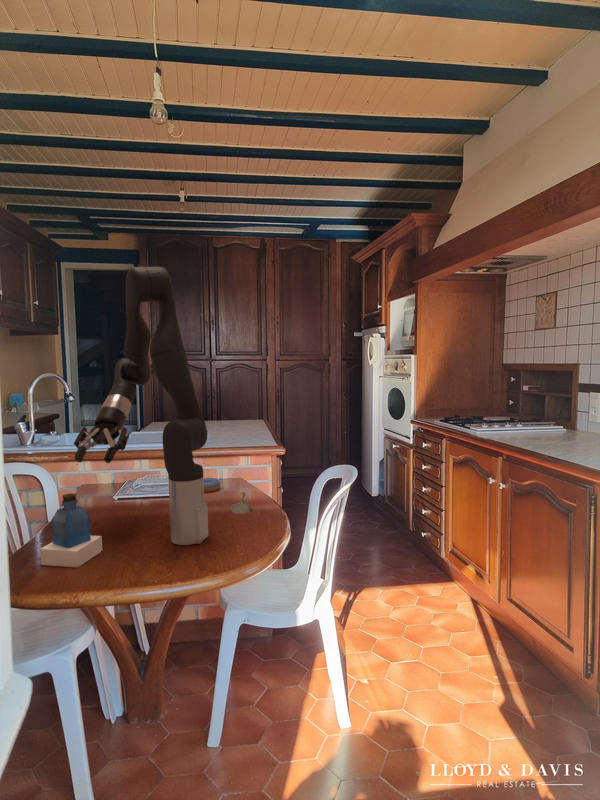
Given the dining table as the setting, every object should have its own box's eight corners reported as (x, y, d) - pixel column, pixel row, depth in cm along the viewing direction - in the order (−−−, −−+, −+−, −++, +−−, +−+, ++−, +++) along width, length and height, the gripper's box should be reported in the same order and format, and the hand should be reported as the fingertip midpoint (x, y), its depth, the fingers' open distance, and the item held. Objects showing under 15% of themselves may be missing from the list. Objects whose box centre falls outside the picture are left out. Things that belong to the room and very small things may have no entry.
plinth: (102, 551, 127) (101, 536, 126) (77, 567, 117) (76, 551, 116) (68, 548, 129) (67, 534, 128) (41, 564, 119) (40, 548, 118)
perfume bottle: (90, 540, 124) (88, 493, 123) (68, 548, 118) (65, 500, 117) (75, 535, 127) (73, 490, 126) (53, 543, 122) (50, 496, 121)
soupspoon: (229, 518, 154) (250, 518, 155) (230, 507, 154) (250, 507, 154) (234, 495, 176) (252, 496, 177) (234, 486, 176) (252, 486, 176)
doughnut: (221, 484, 190) (219, 473, 189) (220, 493, 180) (219, 481, 179) (195, 488, 188) (193, 477, 188) (193, 497, 179) (191, 485, 178)
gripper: (85, 405, 139) (61, 453, 129) (131, 405, 137) (110, 453, 126) (97, 421, 145) (75, 468, 135) (141, 421, 142) (122, 469, 132)
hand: (92, 461), depth 131 cm, fingers open, 8 cm apart
